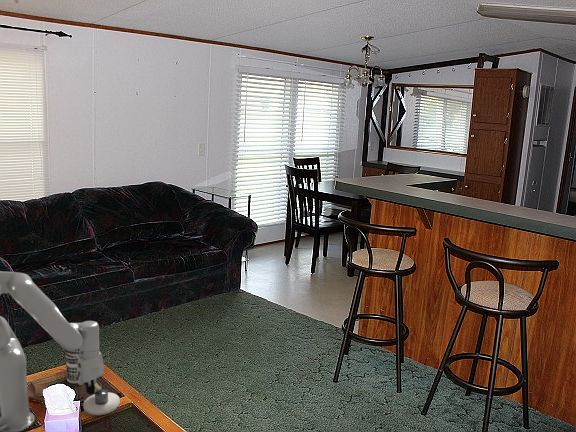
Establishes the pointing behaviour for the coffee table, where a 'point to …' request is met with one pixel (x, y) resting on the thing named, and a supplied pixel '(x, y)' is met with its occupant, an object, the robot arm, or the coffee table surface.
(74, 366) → the grey tall cylinder
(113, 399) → the white plate
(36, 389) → the sunglasses case
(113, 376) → the coffee table surface
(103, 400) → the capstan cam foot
